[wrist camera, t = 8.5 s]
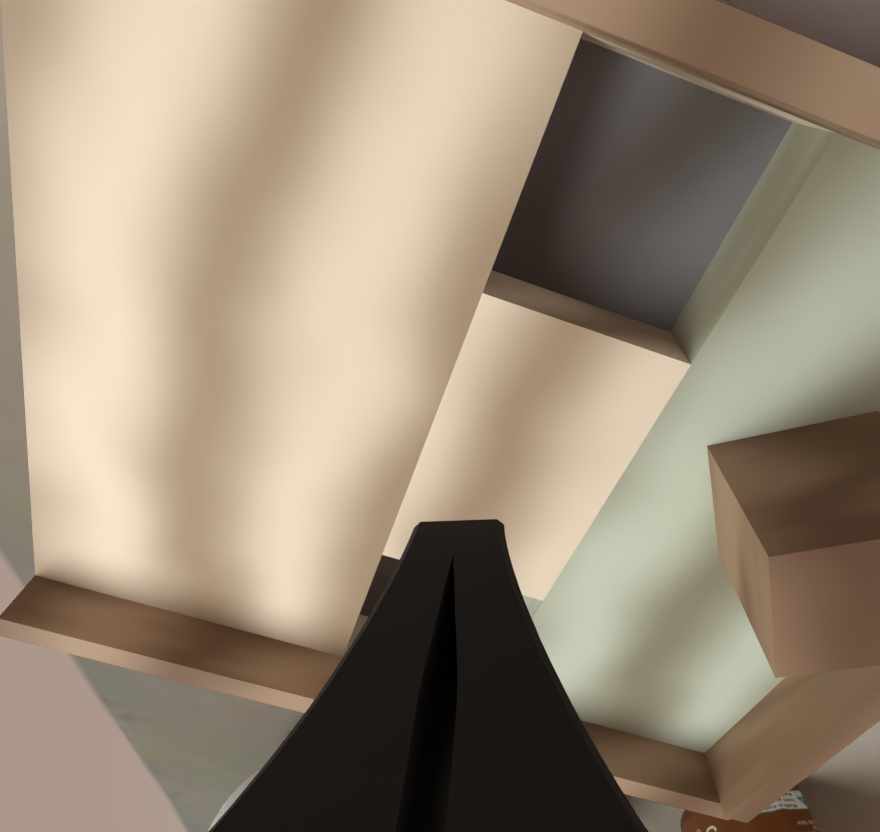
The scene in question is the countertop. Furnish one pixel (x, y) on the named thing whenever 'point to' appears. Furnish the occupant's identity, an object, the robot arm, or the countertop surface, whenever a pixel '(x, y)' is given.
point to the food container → (758, 818)
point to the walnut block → (804, 540)
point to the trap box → (437, 339)
